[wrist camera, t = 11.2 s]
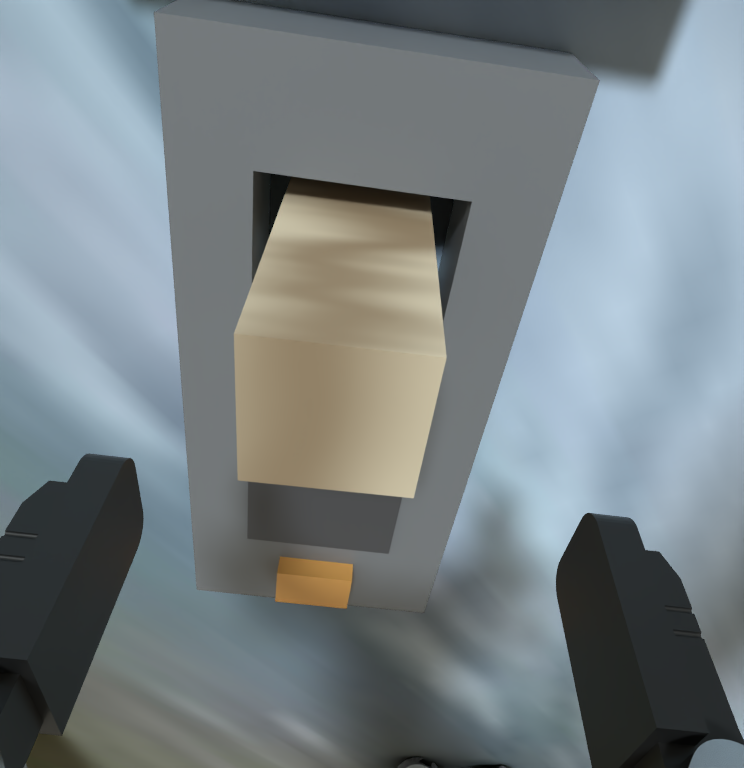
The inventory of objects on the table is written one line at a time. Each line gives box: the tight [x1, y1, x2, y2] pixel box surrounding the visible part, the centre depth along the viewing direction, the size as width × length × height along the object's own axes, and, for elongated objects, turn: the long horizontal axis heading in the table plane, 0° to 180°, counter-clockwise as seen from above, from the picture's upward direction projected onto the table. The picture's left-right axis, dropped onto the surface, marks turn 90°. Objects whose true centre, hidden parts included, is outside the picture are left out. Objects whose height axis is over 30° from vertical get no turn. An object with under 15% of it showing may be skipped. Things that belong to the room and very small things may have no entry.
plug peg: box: [234, 176, 447, 498], centre depth 17 cm, size 4×4×9 cm
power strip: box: [154, 0, 600, 613], centre depth 22 cm, size 10×22×4 cm, turn 172°
